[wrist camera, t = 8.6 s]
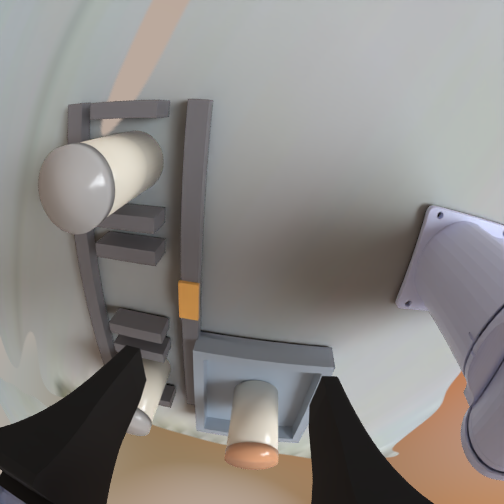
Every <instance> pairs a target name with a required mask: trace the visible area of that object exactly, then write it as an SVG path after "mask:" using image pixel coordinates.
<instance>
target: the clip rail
mask: <svg viewBox="0 0 504 504" xmlns="http://www.w3.org/2000/svg"><path fill="white" fill-rule="evenodd" d="M90 106H91V108H90ZM212 107H213V100H205V99H188V105H187V116H186V129H185V143H184V159H183V178H182V205H181V280H179V282H178V295H179V317H180V318H182V335H183V354H184V370H185V384H186V396H187V404H192V405H195V394H194V370H193V349H194V346H195V343H196V340H198V338H199V335H200V331H201V277H202V249H203V227H204V208H205V192H206V177H207V163H208V150H209V138H210V127H211V117H212ZM169 109H170V101H167V100H134V101H115V102H101V103H80V104H71V105H68V144H72V143H80V142H84V141H88V140H89V133H90V120H94V119H113V118H160V117H169ZM164 223H165V208H164V207H154V206H144V205H134V204H125V205H123V206H122V207H121V208H119V209H118V210H116V211H115V212H114V213H112V214H111V215H109V216H108V217H107V218H106V219H105V220H104V221H103V222H102V223H100V224H99V225H97V226H96V227H103V228H111V229H119V230H126V231H134V232H142V233H149V234H155V232H156V231H157V230H158V229H159V228H160V227H161V226H162V225H163V224H164ZM74 236H75V243H76V250H77V256H78V262H79V267H80V273H81V278H82V283H83V288H84V292H85V297H86V301H87V306H88V310H89V314H90V318H91V322H92V326H93V329H94V333H95V337H96V340H97V344H98V347H99V350H100V354H101V357H102V360H103V363H104V365H105V364H106V363H107V362H109V361H110V360H111V359H112V358H113V357H114V356H115V355H116V351H117V352H119V351H120V350H121V349H122V348H124V347H125V346H126V345H128V346H132V347H136V348H140V350H141V355H142V358H144V359H149V360H153V361H157V362H162V363H164V362H165V360H166V357H167V355H168V352H169V350H170V347H171V343H170V338H167V337H165V336H166V334H167V331H168V329H169V318H166V317H160V316H155V315H150V314H146V313H141V312H136V311H131V310H127V309H122V308H119V309H118V310H117V312H116V313H115V315H114V316H113V318H112V319H111V320H110V322H109V321H108V316H107V311H106V306H105V301H104V296H103V291H102V285H101V279H100V273H99V267H98V260H97V257H103V258H109V259H115V260H120V261H126V262H132V263H138V264H144V265H151V266H156V265H157V263H158V262H159V260H160V259H161V258H162V256H163V255H164V254H165V252H166V251H165V239H162V238H155V237H147V236H140V235H133V234H125V233H118V232H110V231H109V232H108V233H107V234H106V235H104V236H103V237H102V238H101V239H100V240H98V241H97V242H96V243H95V236H94V229H92V230H91V231H89V232H87V233H84V234H74ZM95 244H96V245H95ZM110 329H111V330H110ZM111 332H113V333H117V334H119V335H118V337H117V338H116V340H115V341H114V342H113V338H112V334H111ZM175 393H176V390H175V387H174V386H169V385H165V388H164V390H163V393H162V396H161V399H160V401H159V404H158V405H161V406H165V407H170V408H171V406H172V403H173V399H174V396H175Z"/></svg>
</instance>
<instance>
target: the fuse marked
mask: <svg viewBox="0 0 504 504" xmlns="http://www.w3.org/2000/svg"><path fill="white" fill-rule="evenodd" d="M225 461H226V462H227V463H228V464H230V465H232V466H235V467H238V468H243V469H254V470H257V469H266V468H270V467H273V466H275V465H276V464H277V463H278V390H277V388H276V387H275V386H273V385H272V384H270V383H267V382H264V381H258V380H251V381H245V382H242V383H240V384H238V385H237V386H236V387H235V389H234V394H233V402H232V410H231V417H230V425H229V433H228V441H227V448H226V451H225Z"/></svg>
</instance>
